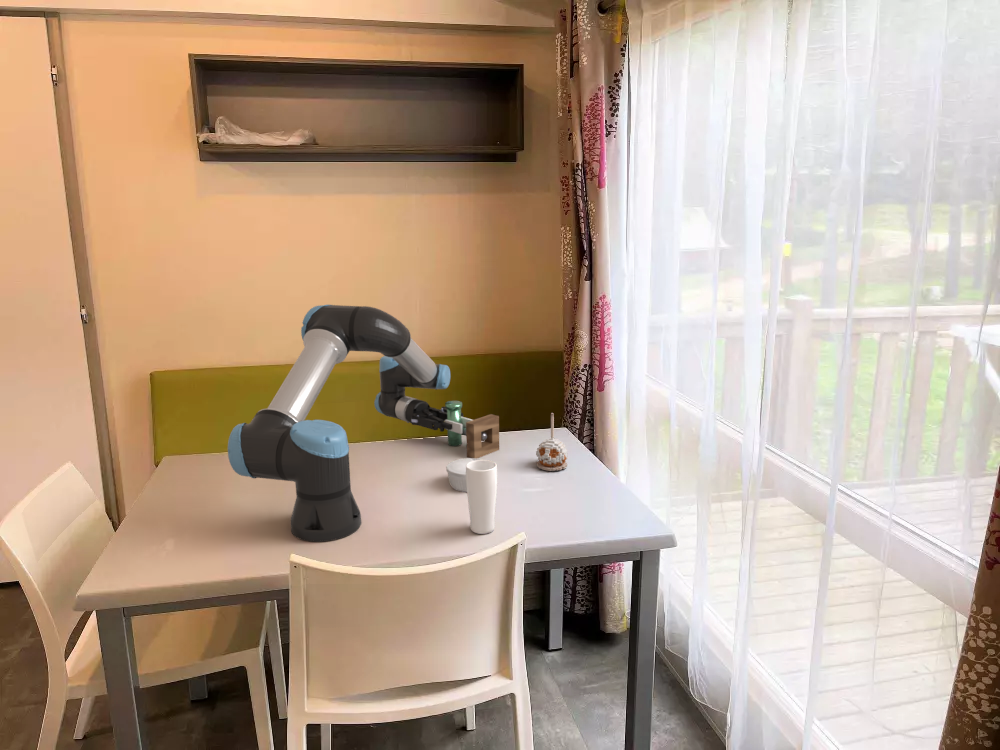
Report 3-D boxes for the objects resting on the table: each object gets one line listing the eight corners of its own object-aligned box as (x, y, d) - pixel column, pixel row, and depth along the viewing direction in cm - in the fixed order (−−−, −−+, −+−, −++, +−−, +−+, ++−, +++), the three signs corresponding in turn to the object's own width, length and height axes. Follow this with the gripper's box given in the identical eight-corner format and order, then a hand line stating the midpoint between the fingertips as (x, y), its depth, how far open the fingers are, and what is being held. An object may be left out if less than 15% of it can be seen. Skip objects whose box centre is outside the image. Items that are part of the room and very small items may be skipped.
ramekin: (500, 483, 185) (500, 463, 184) (472, 498, 176) (472, 477, 175) (466, 473, 191) (465, 454, 190) (438, 487, 183) (437, 467, 182)
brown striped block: (466, 456, 203) (466, 422, 200) (491, 447, 210) (491, 414, 208) (474, 459, 201) (473, 424, 199) (499, 449, 208) (498, 416, 206)
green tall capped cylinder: (443, 443, 213) (441, 403, 210) (455, 439, 216) (453, 399, 213) (480, 455, 203) (479, 413, 200) (492, 451, 206) (491, 409, 203)
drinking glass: (488, 539, 155) (487, 473, 152) (461, 532, 159) (459, 467, 155) (503, 526, 161) (503, 462, 157) (477, 520, 164) (475, 457, 161)
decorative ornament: (532, 469, 193) (532, 415, 190) (544, 460, 200) (544, 407, 196) (559, 474, 190) (560, 419, 186) (571, 464, 196) (571, 411, 193)
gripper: (435, 416, 230) (488, 432, 215) (392, 429, 218) (445, 447, 203) (434, 393, 228) (488, 407, 213) (391, 405, 216) (444, 421, 201)
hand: (467, 426), depth 208 cm, fingers closed on green tall capped cylinder, 4 cm apart
